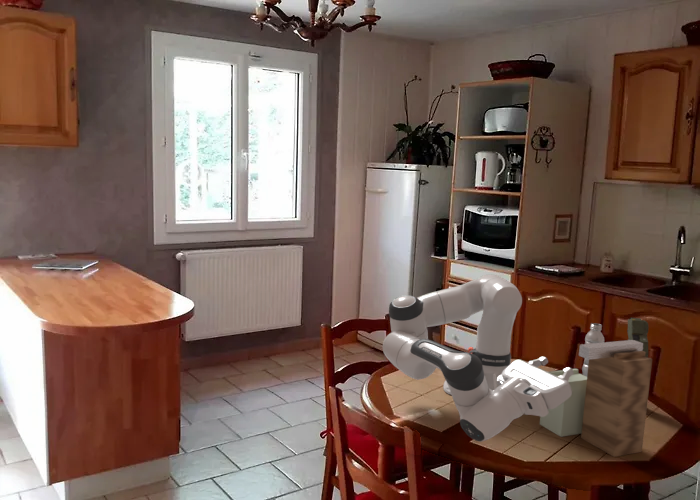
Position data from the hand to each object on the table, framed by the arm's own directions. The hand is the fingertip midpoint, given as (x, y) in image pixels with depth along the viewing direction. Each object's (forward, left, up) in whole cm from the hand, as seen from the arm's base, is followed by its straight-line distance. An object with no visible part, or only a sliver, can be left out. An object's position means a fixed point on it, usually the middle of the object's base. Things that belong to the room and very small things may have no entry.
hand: (558, 364), depth 161 cm
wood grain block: (+18, +12, -25) cm, 33 cm away
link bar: (+15, +10, +1) cm, 18 cm away
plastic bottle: (+25, +72, -25) cm, 80 cm away
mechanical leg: (+32, +45, -25) cm, 60 cm away
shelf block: (+8, +21, -25) cm, 33 cm away
